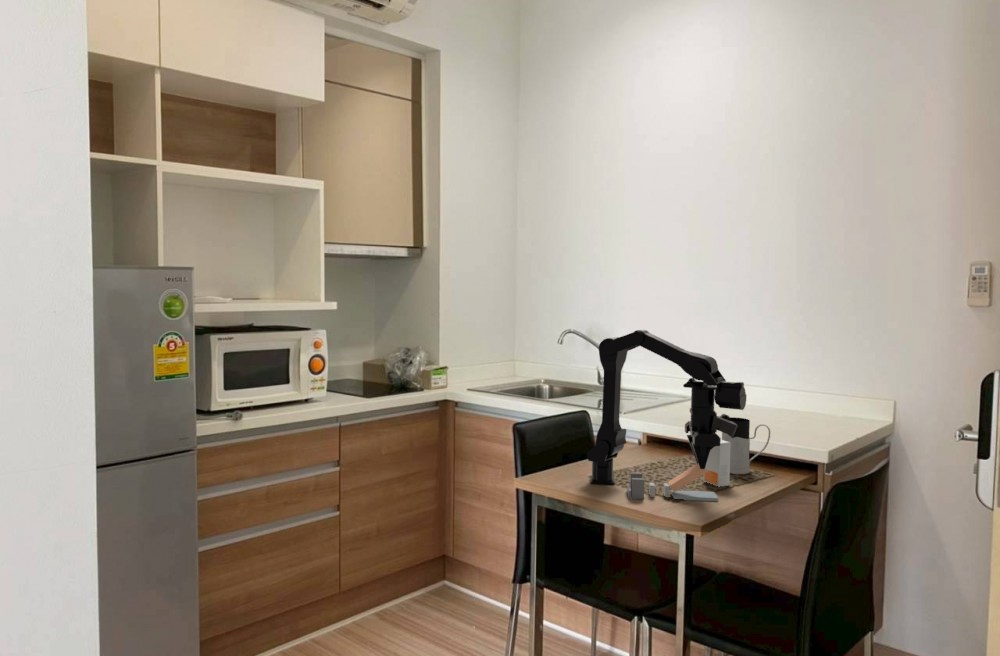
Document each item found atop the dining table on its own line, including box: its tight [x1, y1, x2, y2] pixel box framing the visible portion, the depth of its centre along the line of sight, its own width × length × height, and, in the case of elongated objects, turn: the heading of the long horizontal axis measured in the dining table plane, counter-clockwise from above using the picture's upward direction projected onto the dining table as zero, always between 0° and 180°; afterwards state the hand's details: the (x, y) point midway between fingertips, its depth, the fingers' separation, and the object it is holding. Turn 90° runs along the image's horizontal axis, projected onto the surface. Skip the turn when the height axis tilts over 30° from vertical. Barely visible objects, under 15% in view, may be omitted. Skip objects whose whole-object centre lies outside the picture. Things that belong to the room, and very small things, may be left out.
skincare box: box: [702, 439, 731, 488], centre depth 213 cm, size 6×4×12 cm
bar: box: [667, 463, 708, 492], centre depth 199 cm, size 4×10×2 cm
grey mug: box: [721, 416, 771, 475], centre depth 228 cm, size 9×14×15 cm, turn 87°
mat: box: [670, 489, 719, 502], centre depth 199 cm, size 6×11×1 cm, turn 84°
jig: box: [626, 471, 671, 500], centre depth 201 cm, size 7×10×5 cm
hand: (700, 466), depth 199 cm, fingers open, 5 cm apart
